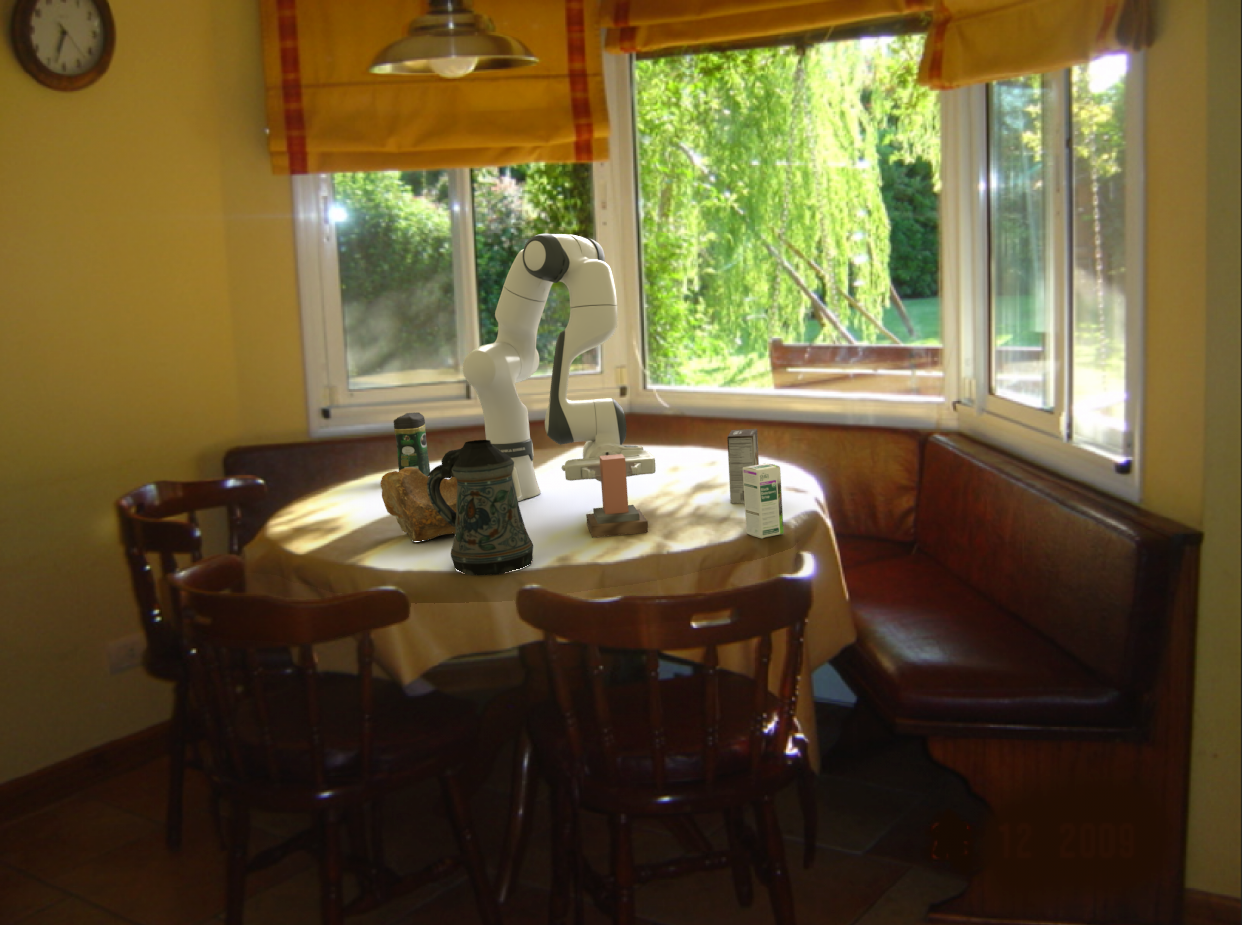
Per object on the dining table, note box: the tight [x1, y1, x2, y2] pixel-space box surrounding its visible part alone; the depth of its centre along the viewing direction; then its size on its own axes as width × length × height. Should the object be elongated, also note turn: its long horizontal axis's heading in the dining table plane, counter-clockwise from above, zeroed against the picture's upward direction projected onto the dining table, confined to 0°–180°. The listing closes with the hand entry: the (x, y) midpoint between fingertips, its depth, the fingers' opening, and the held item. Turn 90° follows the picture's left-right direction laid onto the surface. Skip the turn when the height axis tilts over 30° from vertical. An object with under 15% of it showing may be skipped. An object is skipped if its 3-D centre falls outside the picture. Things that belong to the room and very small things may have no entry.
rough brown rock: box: [379, 467, 457, 541], centre depth 263 cm, size 23×17×15 cm
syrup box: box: [743, 462, 784, 539], centre depth 247 cm, size 6×6×14 cm
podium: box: [585, 504, 649, 538], centre depth 260 cm, size 12×12×4 cm
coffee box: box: [726, 428, 760, 504], centre depth 280 cm, size 9×6×16 cm
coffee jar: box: [393, 412, 431, 477], centre depth 331 cm, size 10×8×19 cm
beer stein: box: [427, 439, 534, 577], centre depth 235 cm, size 16×19×25 cm
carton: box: [600, 454, 629, 514], centre depth 259 cm, size 5×5×12 cm
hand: (613, 473), depth 258 cm, fingers open, 8 cm apart
